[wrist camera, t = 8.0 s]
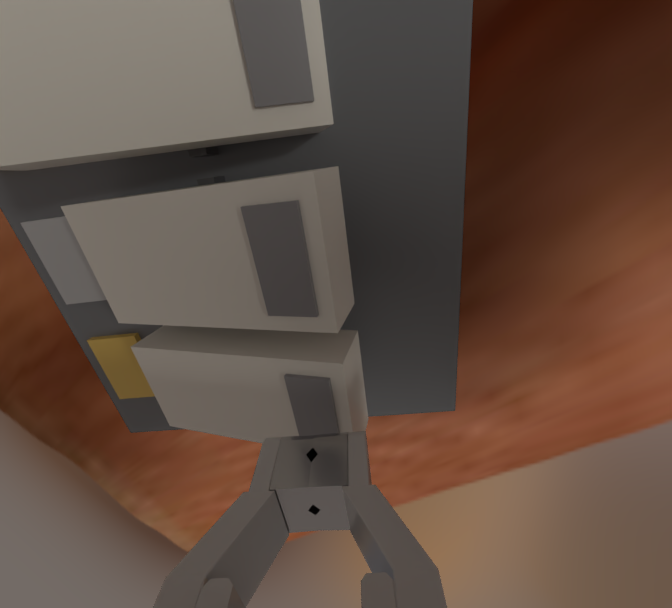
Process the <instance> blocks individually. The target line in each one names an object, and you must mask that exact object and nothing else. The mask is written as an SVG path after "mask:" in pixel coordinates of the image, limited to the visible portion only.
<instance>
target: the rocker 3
mask: <svg viewBox="0 0 672 608" xmlns="http://www.w3.org/2000/svg"><path fill="white" fill-rule="evenodd" d="M131 349H132V351H133V353H134V355H135V357H136V359H137V361H138V363H139V365H140V367H141V369H142V371H143V373H144V375H145V377H146V379H147V381H148V383H149V385H150V387H151V389H152V391H153V393H154V395H155V397H156V399H157V401H158V403H159V405H160V407H161V409H162V411H163V413H164V415H165V417H166V419H167V421H168V423H169V425H170V426H172V427H177V428H183V429H188V430H194V431H199V432H204V433H210V434H215V435H221V436H226V437H231V438H237V439H242V440H248V441H253V442H259V443H263V442H264V440H265V439H266V438H272V437H289V436H311V435H318V434H330V433H342V432H358V431H365V430H366V427H367V423H368V412H367V403H366V395H365V387H364V378H363V370H362V361H361V353H360V344H359V336H358V330H340V331H339V332H338V333H322V332H300V331H278V330H256V329H234V328H212V327H191V326H169V325H163V326H162V327H160V328H159V329H157V330H156V331H154V332H153V333H151V334H150V335H148V336H146V337H145V338H143V339H142V340H140V341H139V342H137V343H136V344H134V345H133V346H131Z"/></svg>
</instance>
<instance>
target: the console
mask: <svg viewBox="0 0 672 608" xmlns="http://www.w3.org/2000/svg"><path fill="white" fill-rule="evenodd" d="M319 4H320V12H321V21H322V29H323V37H324V46H325V54H326V63H327V71H328V80H329V88H330V97H331V105H332V114H333V122H334V124H333V125H331V126H330V127H328V128H327V129H325V130H323V131H322V132H319V133H312V134H304V135H297V136H289V137H281V138H274V139H266V140H258V141H251V142H243V143H235V144H228V145H220V146H212V147H205V148H197V149H189V150H182V151H174V152H166V153H158V154H151V155H143V156H135V157H128V158H120V159H112V160H105V161H97V162H89V163H82V164H74V165H66V166H59V167H51V168H43V169H36V170H28V171H13V170H0V208H1V210H2V211H3V213H4V215H5V217H6V218H7V220H8V222H9V224H10V225H11V227H12V229H13V230H14V232H15V234H16V236H17V237H18V239H19V241H20V242H21V244H22V246H23V248H24V249H25V251H26V253H27V255H28V256H29V258H30V260H31V261H32V263H33V265H34V267H35V268H36V270H37V272H38V274H39V275H40V277H41V279H42V280H43V282H44V284H45V286H46V287H47V289H48V291H49V292H50V294H51V296H52V298H53V299H54V301H55V303H56V305H57V306H58V308H59V310H60V311H61V313H62V315H63V317H64V318H65V320H66V322H67V324H68V325H69V327H70V329H71V330H72V332H73V334H74V336H75V337H76V339H77V341H78V342H79V344H80V346H81V348H82V349H83V351H84V353H85V355H86V356H87V358H88V360H89V361H90V363H91V365H92V367H93V368H94V370H95V372H96V374H97V375H98V377H99V379H100V380H101V382H102V384H103V386H104V387H105V389H106V391H107V392H108V394H109V396H110V398H111V399H112V401H113V403H114V405H115V406H116V408H117V410H118V411H119V413H120V415H121V417H122V418H123V420H124V422H125V424H126V425H127V427H128V429H129V430H130V432H131V433H133V432H148V431H163V430H178V429H183V428H177V427H172V426H170V425H169V423H168V421H167V419H166V417H165V415H164V413H163V411H162V409H161V407H160V405H159V403H158V401H157V399H156V397H155V395H154V393H153V391H152V389H151V387H150V385H149V383H148V381H147V379H146V377H145V375H144V373H143V371H142V369H141V367H140V365H139V363H138V361H137V359H136V357H135V355H134V353H133V351H132V349H131V346H133V345H134V344H136V343H137V342H139V341H140V340H142V339H143V338H145V337H146V336H148V335H150V334H151V333H153V332H154V331H156V330H157V329H159V328H160V327H162V326H163V325H147V324H125V323H118V321H117V319H116V317H115V315H114V313H113V311H112V309H111V307H110V305H109V303H108V301H107V299H106V297H105V295H104V293H103V291H102V289H101V287H100V285H99V283H98V281H97V279H96V277H95V275H94V273H93V271H92V269H91V267H90V265H89V263H88V261H87V259H86V257H85V255H84V253H83V251H82V249H81V247H80V245H79V243H78V241H77V239H76V237H75V235H74V233H73V231H72V229H71V227H70V225H69V223H68V221H67V219H66V217H65V215H64V213H63V211H62V209H61V207H60V206H66V205H72V204H79V203H85V202H91V201H98V200H104V199H110V198H116V197H123V196H130V195H137V194H145V193H152V192H159V191H166V190H173V189H180V188H187V187H194V186H201V185H208V184H215V183H222V182H229V181H236V180H243V179H250V178H257V177H264V176H272V175H279V174H286V173H293V172H300V171H307V170H314V169H321V168H328V167H335V166H338V168H339V176H340V184H341V193H342V201H343V210H344V218H345V227H346V235H347V243H348V252H349V260H350V269H351V277H352V285H353V294H354V302H355V303H354V305H353V307H352V309H351V311H350V312H349V314H348V316H347V318H346V320H345V322H344V323H343V325H342V327H341V329H340V330H358V336H359V344H360V353H361V361H362V370H363V378H364V387H365V395H366V403H367V412H368V417H369V416H384V415H399V414H413V413H428V412H443V411H455V402H456V379H457V357H458V334H459V311H460V288H461V265H462V242H463V219H464V196H465V173H466V150H467V127H468V104H469V81H470V58H471V35H472V12H473V0H319Z"/></svg>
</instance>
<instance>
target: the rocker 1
mask: <svg viewBox="0 0 672 608" xmlns="http://www.w3.org/2000/svg"><path fill="white" fill-rule="evenodd" d="M333 124H334V122H333V114H332V105H331V97H330V88H329V80H328V71H327V63H326V54H325V46H324V37H323V29H322V21H321V12H320V4H319V0H0V170H13V171H28V170H36V169H43V168H51V167H59V166H66V165H74V164H82V163H89V162H97V161H105V160H112V159H120V158H128V157H135V156H143V155H151V154H158V153H166V152H174V151H182V150H189V149H197V148H205V147H212V146H220V145H228V144H235V143H243V142H251V141H258V140H266V139H274V138H281V137H289V136H297V135H304V134H312V133H319V132H322V131H323V130H325V129H327V128H328V127H330V126H331V125H333Z"/></svg>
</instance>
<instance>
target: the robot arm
mask: <svg viewBox="0 0 672 608" xmlns="http://www.w3.org/2000/svg"><path fill="white" fill-rule="evenodd" d="M318 530H350V531H351V533H352V535H353V537H354V539H355V541H356V543H357V545H358V547H359V548H360V550H361V552H362V554H363V556H364V558H365V560H366V562H367V564H368V566H369V568H370V570H371V571H372V573H367V574H365V576H364V577H363V579H362V580H361V601H362V602H361V604H362V608H447V605H446V601H445V597H444V593H443V588H442V584H441V579H440V575H439V571H438V568H437V567H436V565H435V564H434V563H433V562H432V560H431V559H430V557H429V556H428V555H427V553H426V552H425V551H424V549H423V548H422V547H421V545H420V544H419V543H418V541H417V540H416V539H415V537H414V536H413V535H412V533H411V532H410V531H409V529H408V528H407V527H406V525H405V524H404V523H403V521H402V520H401V519H400V517H399V516H398V514H397V513H396V512H395V510H394V509H393V508H392V506H391V505H390V504H389V502H388V501H387V500H386V498H385V497H384V496H383V494H382V493H381V492H380V490H379V489H378V488H377V486H376V485H372V482H371V472H370V464H369V455H368V446H367V438H366V431H358V432H342V433H330V434H318V435H311V436H289V437H272V438H266V439H265V440H264V442H263V444H262V448H261V451H260V455H259V458H258V461H257V465H256V468H255V472H254V475H253V479H252V482H251V486H250V489H249V492H243V493H242V494H241V496H240V497H239V498H238V499H237V500H236V501H235V502H234V503H233V504H232V505H231V507H230V508H229V509H228V510H227V511H226V512H225V513H224V514H223V515H222V516H221V518H220V519H219V520H218V521H217V522H216V523H215V524H214V525H213V526H212V527H211V529H210V530H209V531H208V532H207V533H206V534H205V535H204V536H203V537H202V538H201V540H200V541H199V542H198V543H197V544H196V545H195V546H194V547H193V548H192V549H191V550H190V552H189V553H188V554H187V555H186V556H185V557H184V558H183V559H182V560H181V561H180V563H179V564H178V565H177V566H176V567H175V568H174V569H173V570H172V571H171V573H170V574H169V575H168V576H167V577H166V578H165V580H164V583H163V585H162V588H161V590H160V592H159V595H158V597H157V599H156V601H155V604H154V606H153V608H246V606H247V604H248V603H249V601H250V599H251V598H252V596H253V594H254V593H255V591H256V589H257V588H258V586H259V584H260V583H261V581H262V579H263V578H264V576H265V574H266V573H267V571H268V569H269V568H270V566H271V564H272V563H273V561H274V559H275V558H276V556H277V554H278V552H279V551H280V549H281V548H282V546H283V544H284V543H285V541H286V539H287V538H288V536H289V533H292V532H305V531H318Z"/></svg>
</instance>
